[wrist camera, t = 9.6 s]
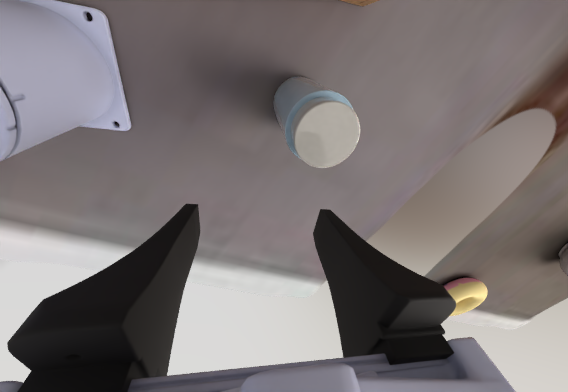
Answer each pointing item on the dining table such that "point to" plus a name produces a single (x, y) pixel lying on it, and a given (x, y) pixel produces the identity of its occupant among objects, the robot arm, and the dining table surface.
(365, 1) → the wooden tray
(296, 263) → the dining table surface
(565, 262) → the coffee pot
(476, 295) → the donut
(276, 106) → the shaker
